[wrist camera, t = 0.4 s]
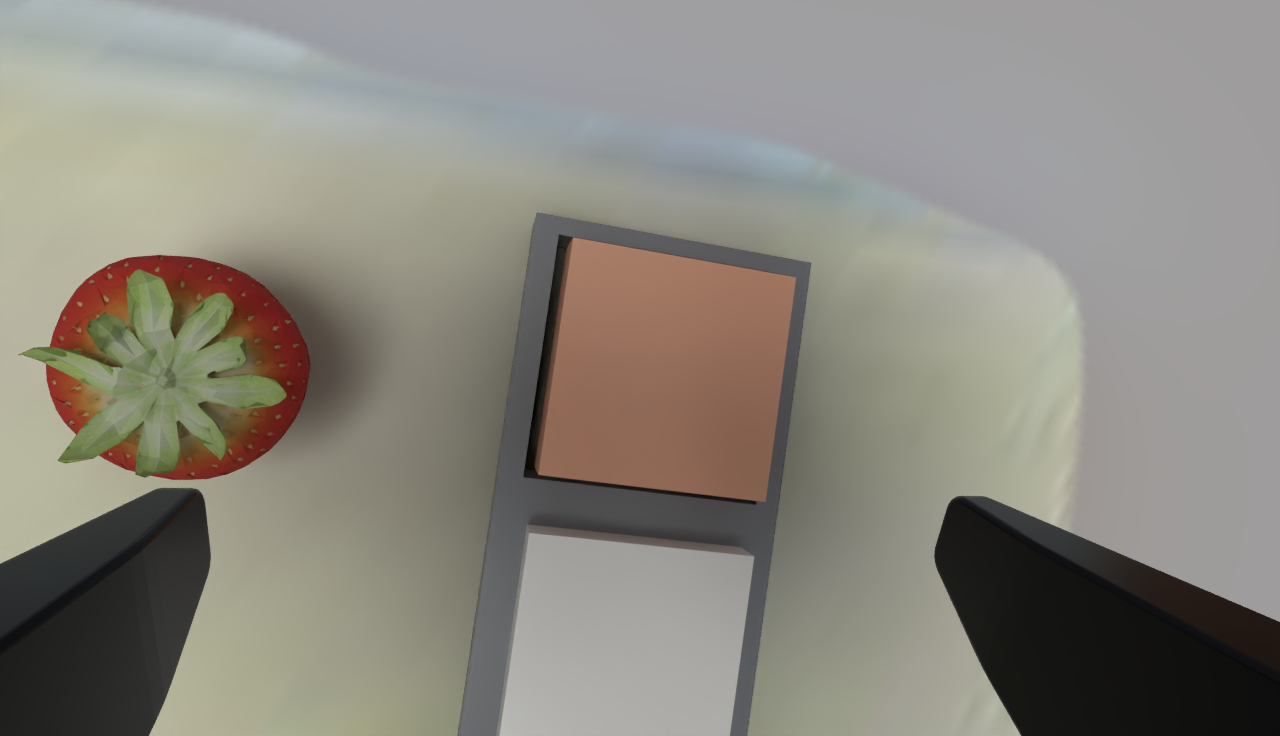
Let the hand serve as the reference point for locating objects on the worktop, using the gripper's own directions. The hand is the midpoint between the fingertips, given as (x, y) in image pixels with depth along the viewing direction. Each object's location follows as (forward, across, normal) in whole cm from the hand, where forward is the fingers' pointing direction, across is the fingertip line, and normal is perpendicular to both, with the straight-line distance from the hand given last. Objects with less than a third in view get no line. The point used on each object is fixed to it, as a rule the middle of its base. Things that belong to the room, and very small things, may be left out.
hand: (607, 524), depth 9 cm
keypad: (+12, -3, +11) cm, 16 cm away
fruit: (+15, +8, +4) cm, 17 cm away
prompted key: (+13, -3, +3) cm, 14 cm away
